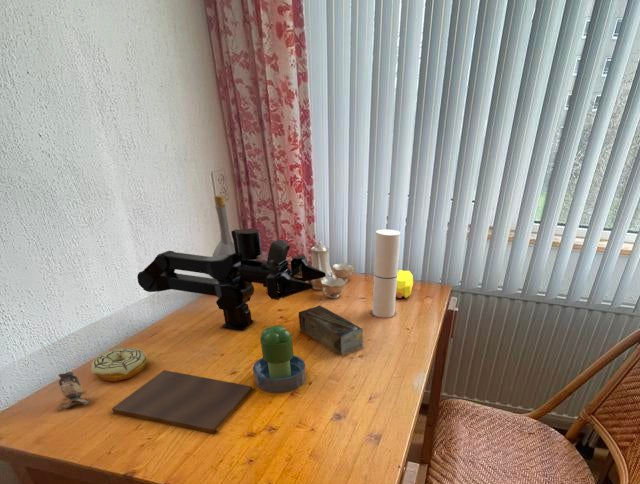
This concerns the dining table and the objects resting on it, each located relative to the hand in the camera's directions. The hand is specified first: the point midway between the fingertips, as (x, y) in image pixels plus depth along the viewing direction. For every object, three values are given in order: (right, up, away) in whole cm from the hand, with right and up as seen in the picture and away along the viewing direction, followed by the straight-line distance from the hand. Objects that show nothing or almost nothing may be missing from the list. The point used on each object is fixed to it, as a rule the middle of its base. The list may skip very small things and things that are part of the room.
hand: (319, 280), depth 98 cm
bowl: (-7, -26, -9) cm, 28 cm away
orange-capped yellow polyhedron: (+23, +7, +43) cm, 49 cm away
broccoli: (-7, -25, -10) cm, 28 cm away
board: (-25, -30, -18) cm, 43 cm away
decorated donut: (-44, -24, -9) cm, 51 cm away
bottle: (-35, +5, +33) cm, 48 cm away
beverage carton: (+2, -14, +9) cm, 17 cm away
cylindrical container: (+16, -4, +26) cm, 31 cm away
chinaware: (-4, +9, +43) cm, 44 cm away
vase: (-47, -30, -19) cm, 59 cm away
